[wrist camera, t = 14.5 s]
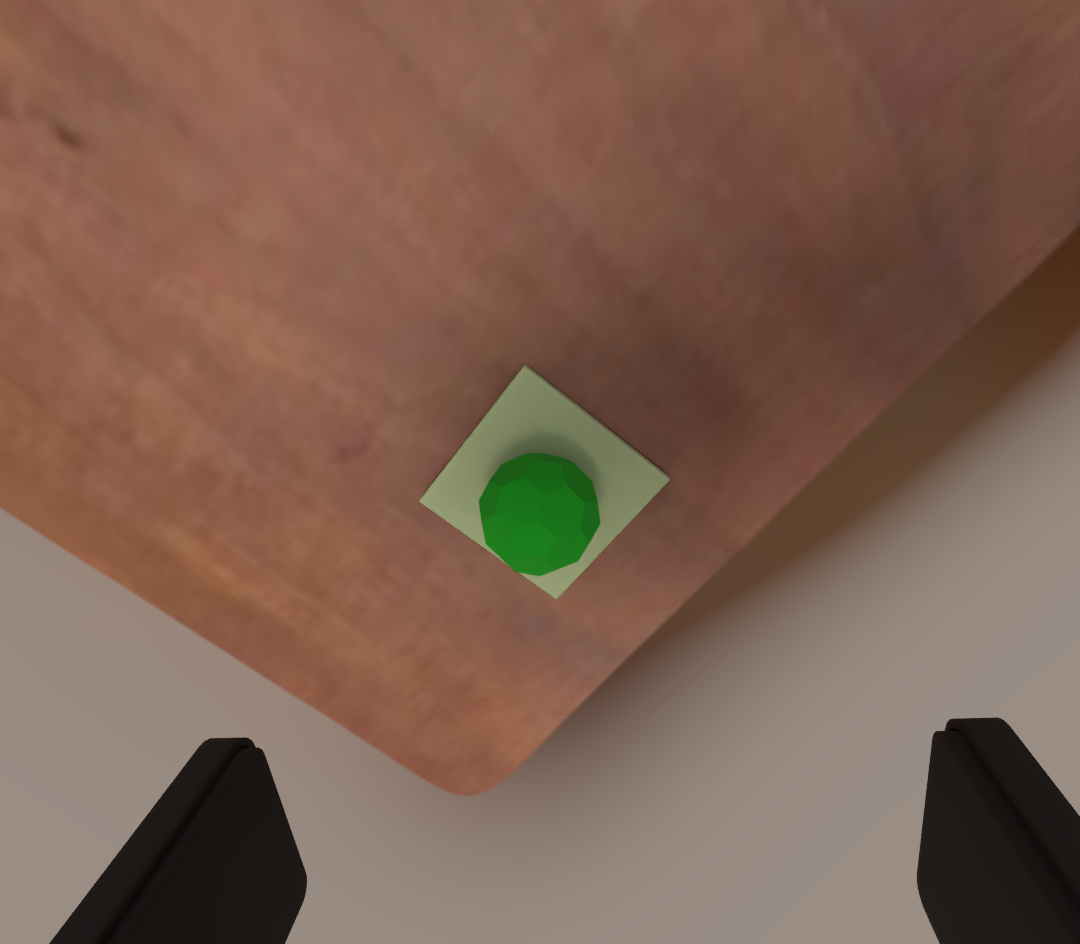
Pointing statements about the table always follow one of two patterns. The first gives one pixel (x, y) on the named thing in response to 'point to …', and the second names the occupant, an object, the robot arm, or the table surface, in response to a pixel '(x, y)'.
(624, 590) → the table surface
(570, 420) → the mat
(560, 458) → the polyhedron
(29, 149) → the table surface
